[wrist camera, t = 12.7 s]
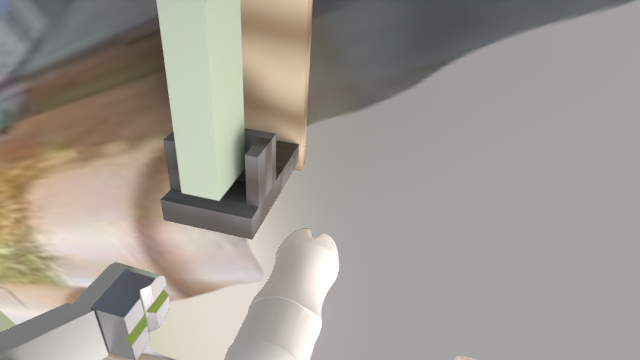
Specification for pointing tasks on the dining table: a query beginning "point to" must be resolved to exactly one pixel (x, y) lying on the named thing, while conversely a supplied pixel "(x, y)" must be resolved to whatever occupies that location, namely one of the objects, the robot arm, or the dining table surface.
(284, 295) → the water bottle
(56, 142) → the dining table surface
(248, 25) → the rail stand
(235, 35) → the rail
